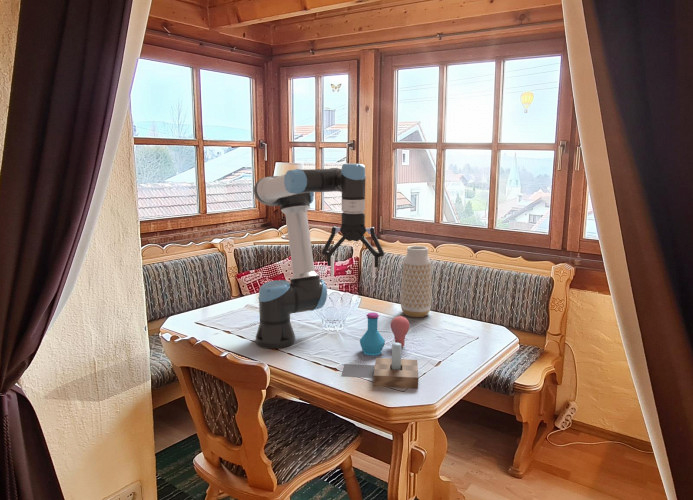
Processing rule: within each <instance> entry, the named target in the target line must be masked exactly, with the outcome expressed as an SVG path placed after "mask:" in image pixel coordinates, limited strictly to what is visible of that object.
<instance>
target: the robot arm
mask: <svg viewBox="0 0 693 500" xmlns="http://www.w3.org/2000/svg"><path fill="white" fill-rule="evenodd" d="M365 167H366V166H365V164H362V163H343V164H342V165H341V168H339V167H331V168H318V169H315V168H314V169H300V168H295V169H290V170H289V169H288V170H287V171H286V173H285V174H282V175H270V176H265V177H262V178H259V180H257V181H256V182H255V184H254V186H253V195H254V198H256V200H257V201H258V202H259V203H261V204H263V205H265V206H270V207H277V206H280V212H282V213H283V214H284V215H285V221H286V223H285V224H286V228H287V229H286V230H287V238H288V244H289V246H288V247H289V254H290V257H291V258H290V259H291V268H292V276H291V277H290V279H289V280H290V281H287V280H286V279H280V280H278V279H276V280H272V281H271V280H270V281H268V282H265V283H263V284H262V285H261V286H260V287H259V290H258V304H259V305H258V308H259V309H258V311H259V325H258V329H257V331H256V334H255V344H256V345H257V346H259V347H260V348H264V349H282V348H288V347H289V346H292V345H293V344H294V343H295V342H296V334H295V331H294V329H293V327H292V323H291V314H292V315H293V314H297V313H304V312H308V311H309V312H311V311H313V312H314V311H315V310H319V309H322V308H323V307H324V306H325V304H326V302H327V297H328V288H327V284H326V281H325V280H323V279H321V278H320V274H319V273H317V272H316V271H315V265H314V255H313V249H312V248H313V247H312V241H311V233H310V226H309V218H308V211H309V209H310V208H311V204H312V203H313V201H314V195H315V193H329V192H330V193H331V192H341V211H342V213H341V227H337V226H336V225H334V226H332V228H331V234H330V236H329V238H328V240H327V242H326V243H325V246H324V248H323V249H322V251H321V254H322V255H324V256H326V257H327V267H330V277H331V278H332V277H334V276H335V255H333V254H334V253H335V252H336V251H337V249H338V248H340V246H341V245H342V244H343V243H344V242H345V240H346V241H348V242H351V241H353V242H359V241H360V242H361V243H362V244H363V245H364V246H365V247H366V248H367V249H368V251H369V252H370V253H371V255H372V261H371V263H372V266H371V267H372V268H371V278H372V279H375V276H376V268H378V267H379V258H380V257H384V256H385V251H384V250H383V247H382V245H381V243H380V241H379V238H378V237H377V235H376V231H375V227H374V226H371V227H366V214H365V211H366V178H367V176H366V168H365ZM339 232H340V233H341V235H342V236H341V238H339V240H338V241H337V242H336V243H335V245H334V246H333V247H332V248H331V249H330V250H329V248H330V245H331V243H332V242H333V240H334V238H335V235H336V234H338V233H339ZM366 233H368V235H370V236H371V239H372V242H373V243H374V245H375V247H376V249H377V250H376V249H375V248H374V247H373V245H372V244H371V243H370V242H369V241H368V239H367V238H366V236H364V235H365V234H366Z"/></svg>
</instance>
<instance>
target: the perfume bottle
mask: <svg viewBox="0 0 693 500" xmlns="http://www.w3.org/2000/svg"><path fill="white" fill-rule="evenodd" d="M365 316H366V317H367V330H366V331H365V332H364V334H363V335H362V336H361V338H360V339H359V344H360V347H361V350H362V352H363V354H365V355H367V356H378V355H380V354H382V351H383V348H384V346H385V342H386V340H385V339H384V337H383V336H382V335H381V333H380V332H379V330H378V323H379V322H378V319H379V317H380V315H379V314H378V313H377V312H367V314H366V315H365Z"/></svg>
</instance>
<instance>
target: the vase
mask: <svg viewBox="0 0 693 500" xmlns="http://www.w3.org/2000/svg"><path fill="white" fill-rule="evenodd" d="M406 250H407V251H406V256H405V258H404V260H403V265H402V266H403V267H402V275H401V276H402V278H401V291H400V308H401V311H402V312H403V314H404V315H405V316H406V317H409V318H424V317H426V316H427V315H428V314H429V313H430V311H431V308H432V261H431V259H430V256H429V248H428V247H427V246H424V245H410V246H407V249H406Z"/></svg>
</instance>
